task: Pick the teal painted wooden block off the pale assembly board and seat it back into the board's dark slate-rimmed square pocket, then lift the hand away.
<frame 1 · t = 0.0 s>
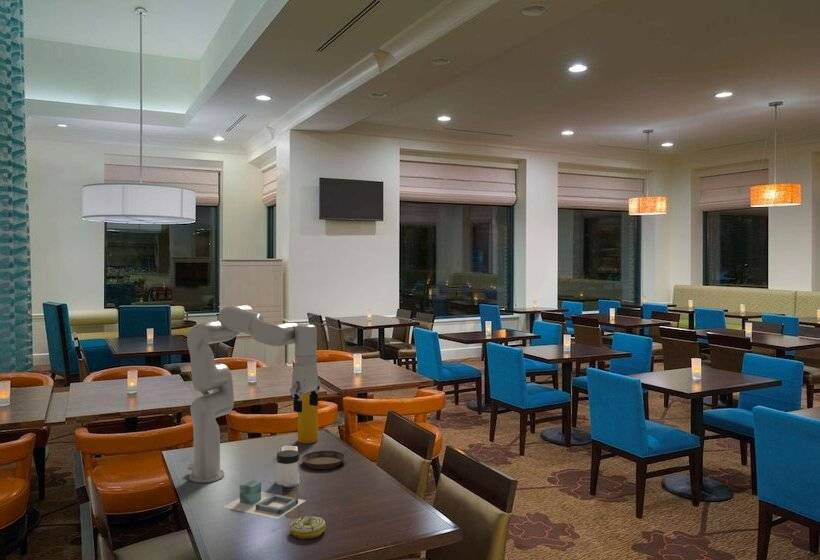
hand: (305, 408, 207), 31 cm above the table, tool pointing down, fingers open, 9 cm apart
beer bottle: (307, 441, 273), on the table
jar: (288, 485, 219), on the table
teal block: (250, 500, 201), point 1 cm above the table, touching assembly board
assembly board: (264, 508, 198), on the table
plant saucer: (323, 464, 243), on the table
decorated donut: (307, 533, 181), on the table
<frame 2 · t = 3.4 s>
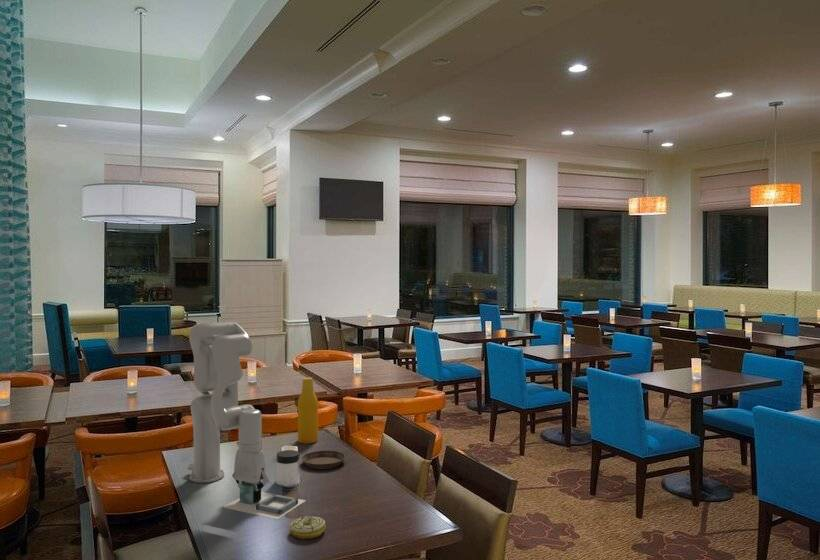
hand: (250, 499, 201), 2 cm above the table, tool pointing down, fingers closed on teal block, 5 cm apart
teal block: (250, 500, 201), point 2 cm above the table, touching assembly board, gripper
everything else where it was.
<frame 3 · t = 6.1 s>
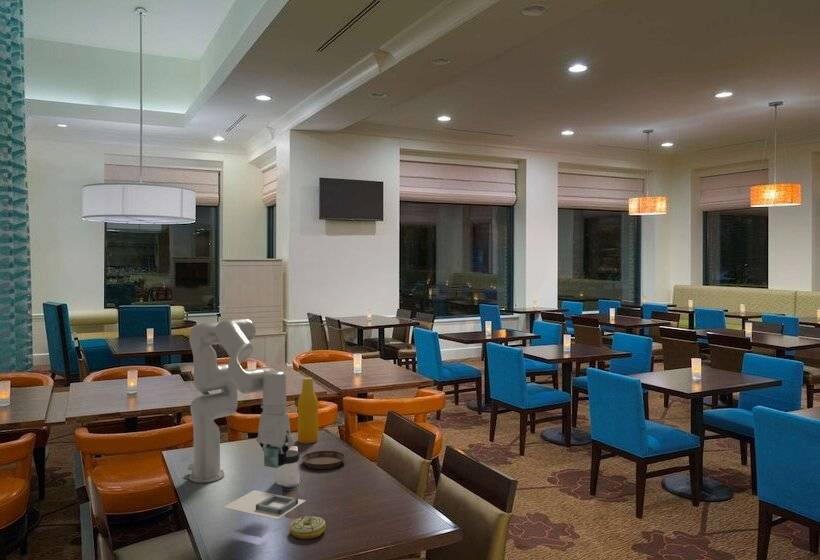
hand: (275, 463, 196), 16 cm above the table, tool pointing down, fingers closed on teal block, 5 cm apart
teal block: (275, 464, 196), point 15 cm above the table, touching gripper
everything else where it was.
when the fingers open (4 cm above the table, at t = 8.8 s): teal block drops 2 cm, resting on assembly board.
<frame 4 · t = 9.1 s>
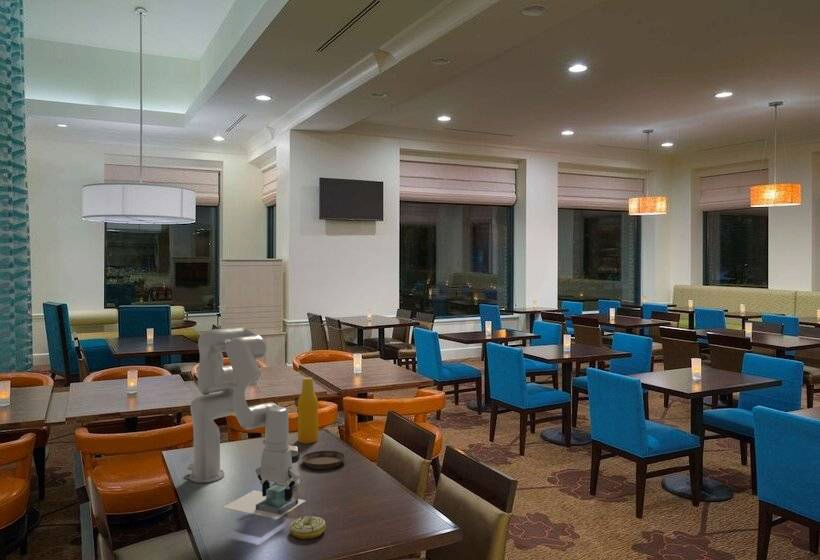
hand: (277, 497, 196), 5 cm above the table, tool pointing down, fingers open, 8 cm apart
teal block: (277, 506, 196), point 1 cm above the table, touching assembly board
everything else where it was.
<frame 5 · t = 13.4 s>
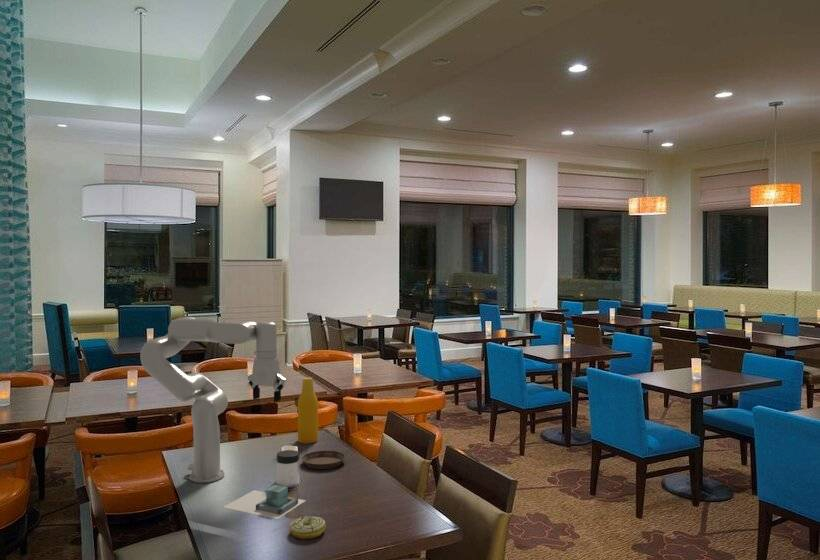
hand: (266, 399, 224), 30 cm above the table, tool pointing down, fingers open, 9 cm apart
nothing on the table moved.
at the end: teal block 0.1 cm from the target spot on the assembly board, point 1.5 cm above the assembly board's base; teal block tilted 0°; the gripper is holding nothing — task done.
